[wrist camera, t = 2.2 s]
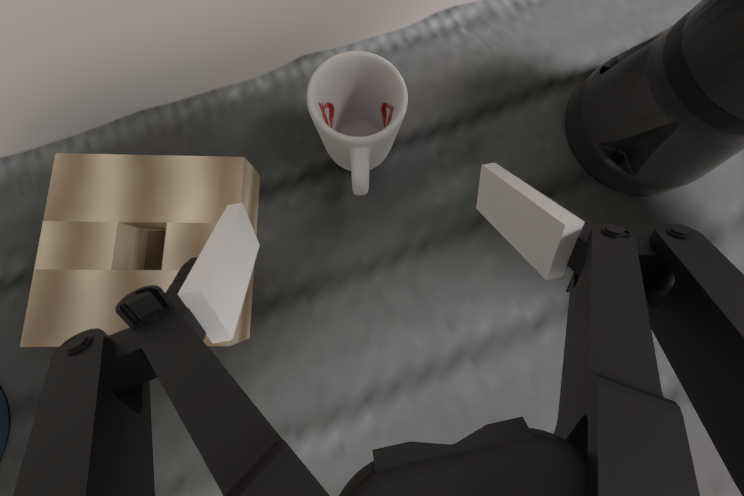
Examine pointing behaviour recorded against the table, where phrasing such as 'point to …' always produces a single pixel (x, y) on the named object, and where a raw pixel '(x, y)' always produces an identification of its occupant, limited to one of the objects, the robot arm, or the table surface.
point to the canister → (3, 422)
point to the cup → (357, 111)
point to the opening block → (127, 235)
